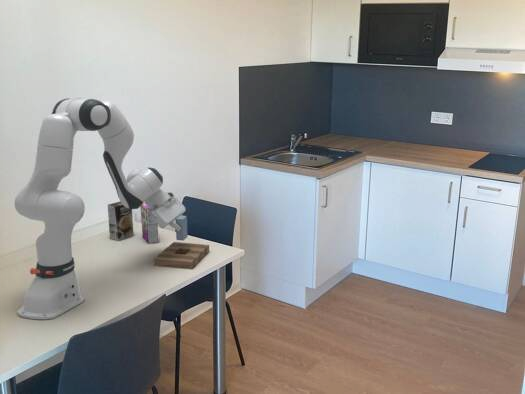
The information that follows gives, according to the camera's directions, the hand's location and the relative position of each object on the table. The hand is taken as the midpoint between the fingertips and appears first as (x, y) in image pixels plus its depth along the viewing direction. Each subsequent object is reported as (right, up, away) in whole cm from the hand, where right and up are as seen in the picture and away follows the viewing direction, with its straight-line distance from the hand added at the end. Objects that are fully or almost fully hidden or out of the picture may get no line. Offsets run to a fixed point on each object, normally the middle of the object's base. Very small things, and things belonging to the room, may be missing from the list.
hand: (183, 227), depth 227 cm
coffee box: (-32, -6, +29) cm, 44 cm away
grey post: (-1, -5, +1) cm, 5 cm away
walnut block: (-1, -13, +4) cm, 13 cm away
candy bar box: (-19, -7, +26) cm, 33 cm away
